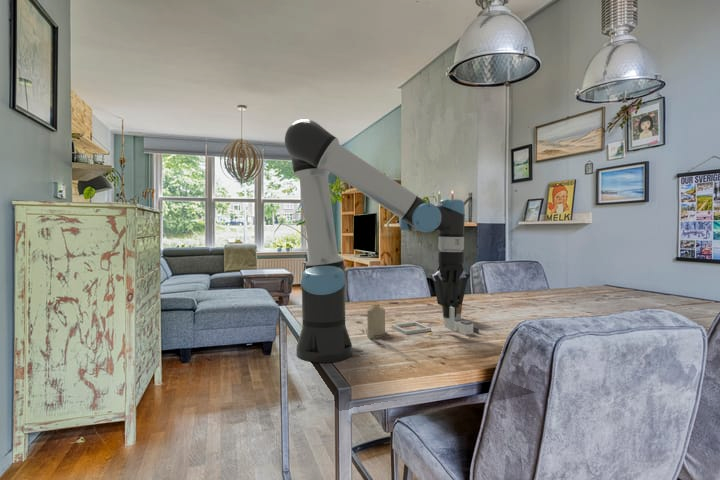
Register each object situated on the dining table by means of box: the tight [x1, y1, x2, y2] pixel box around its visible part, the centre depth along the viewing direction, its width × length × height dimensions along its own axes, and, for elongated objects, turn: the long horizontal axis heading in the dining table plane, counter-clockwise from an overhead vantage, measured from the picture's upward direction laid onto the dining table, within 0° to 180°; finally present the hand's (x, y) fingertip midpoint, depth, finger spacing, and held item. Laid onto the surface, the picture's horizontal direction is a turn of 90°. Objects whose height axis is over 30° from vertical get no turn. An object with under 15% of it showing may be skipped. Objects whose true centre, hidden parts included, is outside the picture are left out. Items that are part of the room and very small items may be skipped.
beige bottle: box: [366, 304, 386, 340], centre depth 128 cm, size 6×6×10 cm
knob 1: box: [450, 317, 464, 332], centre depth 129 cm, size 3×3×4 cm
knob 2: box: [458, 320, 474, 336], centre depth 125 cm, size 3×3×4 cm
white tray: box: [390, 321, 480, 339], centre depth 129 cm, size 22×18×3 cm
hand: (449, 328), depth 125 cm, fingers closed
